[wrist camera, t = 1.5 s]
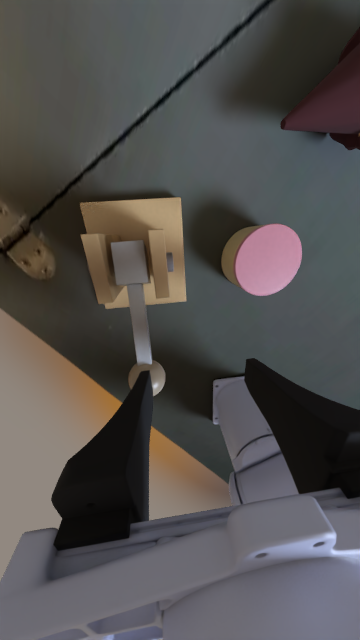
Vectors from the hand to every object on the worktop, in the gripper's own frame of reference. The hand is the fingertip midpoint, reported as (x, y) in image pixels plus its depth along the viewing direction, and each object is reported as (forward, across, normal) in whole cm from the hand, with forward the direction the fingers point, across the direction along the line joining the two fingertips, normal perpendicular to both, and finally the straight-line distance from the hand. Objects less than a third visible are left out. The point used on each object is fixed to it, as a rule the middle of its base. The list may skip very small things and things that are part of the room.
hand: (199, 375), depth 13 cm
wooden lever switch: (+10, +4, -8) cm, 14 cm away
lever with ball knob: (+4, +4, -3) cm, 7 cm away
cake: (+10, -8, -7) cm, 15 cm away
